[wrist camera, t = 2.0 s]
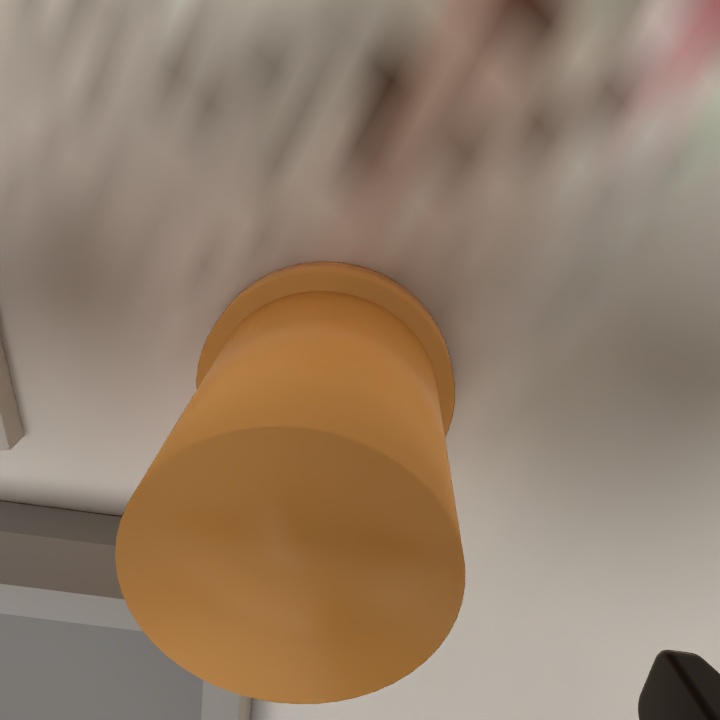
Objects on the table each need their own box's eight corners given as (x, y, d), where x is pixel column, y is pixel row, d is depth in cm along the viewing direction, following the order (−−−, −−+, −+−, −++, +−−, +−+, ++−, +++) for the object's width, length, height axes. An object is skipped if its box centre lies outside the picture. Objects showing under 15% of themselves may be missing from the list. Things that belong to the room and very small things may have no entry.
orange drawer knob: (472, 280, 13) (536, 431, 7) (428, 498, 15) (451, 741, 10) (211, 244, 13) (79, 369, 7) (202, 468, 15) (94, 696, 9)
